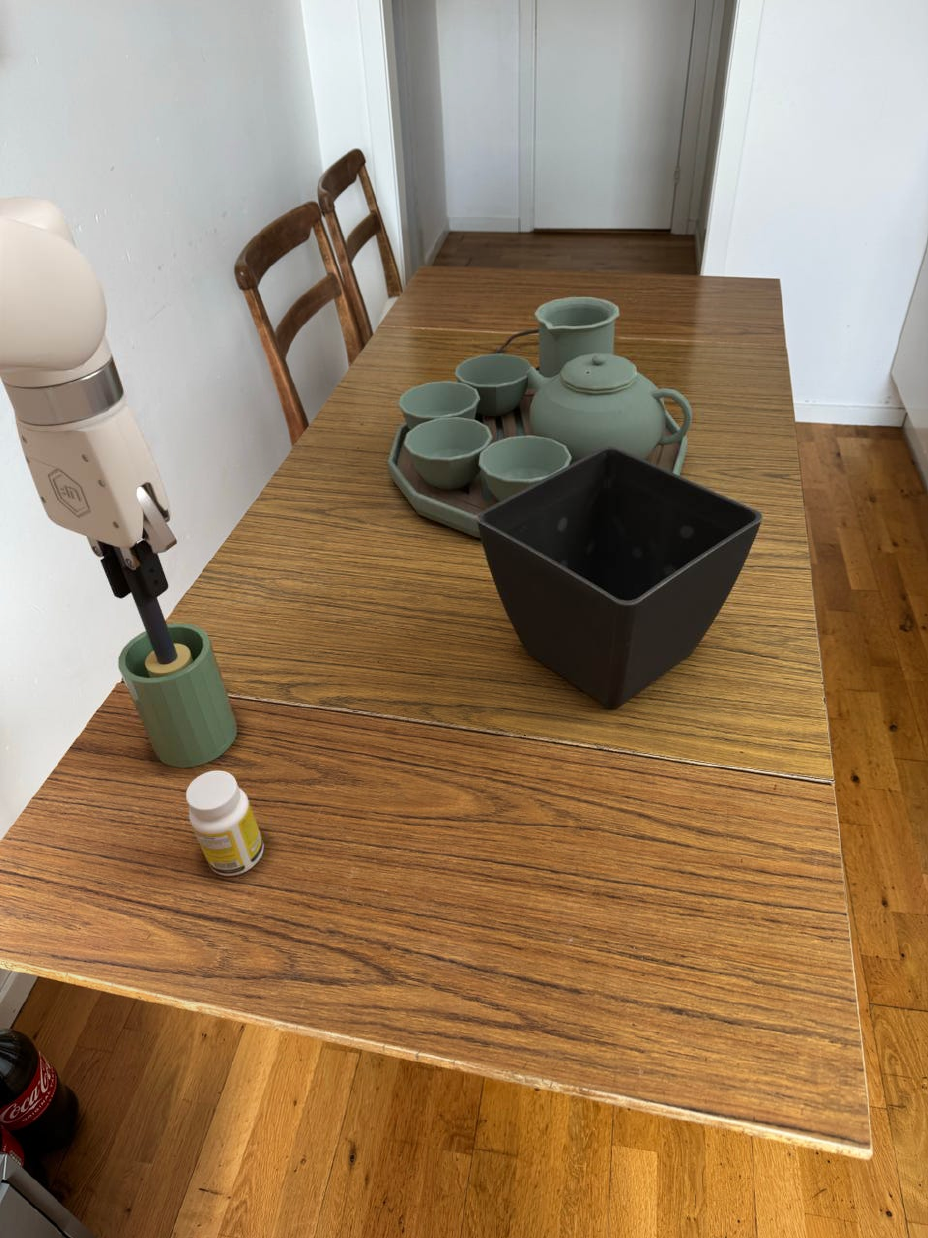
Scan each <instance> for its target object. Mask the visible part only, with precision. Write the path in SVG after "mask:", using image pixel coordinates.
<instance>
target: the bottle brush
mask: <svg viewBox="0 0 928 1238" xmlns="http://www.w3.org/2000/svg"><path fill="white" fill-rule="evenodd" d="M137 543H138V542H136V543H135V545H134V547H135V546H136V545H137ZM113 547H114V549H115V552H116V555H117V557H118V560H119V562H120V565H121V568H124V567H125V566H126V563H125V561H124V558H123V556H122V553H121V550H120V548H119V547H116V546H113ZM122 570H123V569H122ZM123 573H124V572H123ZM125 578H126V577H125ZM126 581H127V580H126ZM127 583H128V582H127ZM128 586H129V585H128ZM129 588H130V587H129ZM130 591H131V590H130ZM131 596H132V598H133V595H132V594H131ZM133 601H134V604H135V606H136V609H137V611H138V614H139V616H140V619H141V622H142V624H143V627H144V631H146V632H147V635H148V638H149V640H150V643H151V645H152V648H153V651H152V652H151V653H150V654H149V655H148V656H147V658H146V661H145V666H146V669H147V671H148V674H149V676H150V678H160V677H164V676H169V675H172V674H174V673H177V672H179V671H181V670H183V669H185V668H186V667H188V666H189V665H190V664H192V663H193V662H194V661H193V659H192V656H191V653H190V650H189V649H188V648H187V647H186V646H184V645H182V644H174V643H173V641H172V638H171V635H170V632H169V630H168V627H167V624H168V623H167V621H166V619H165V617H164V613H163V610H162V608H161V604H160V602H159V600H158V597H157V598H156V599H154V600H153V601H152V602H150V603H149V604H148V605H146V606H145V607H140V606H137V605H136V603H135V600H134V598H133Z"/></svg>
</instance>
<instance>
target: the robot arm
mask: <svg viewBox="0 0 928 1238" xmlns="http://www.w3.org/2000/svg"><path fill="white" fill-rule="evenodd" d="M107 312H108V311H107V302H106V297H105V293H104V289H103V287H102V285H101V282H100V279H99V278H98V275H97V273H96V271H95V270H94V268H93V266H92V265H91V264H90V261H88V260H87V258H86V257H85V256H84V255H83V254H82V252H81V251H80V250H78V248H77V244H76V242H75V238H74V235H73V233H72V229H71V228H70V225H69V222H68V219H67V217H65V215H64V213H63V212H62V211H61V209H59V207H58V206H57V205H56V204H54V203H53V202H50V201H49V200H47V199H44V198H39V197H30V196H14V197H5V198H0V380H1V382H2V385H3V387H4V390H5V391H6V393H7V396H8V399H9V402H10V403H11V406H12V409H13V410H14V419H15V425H16V429H17V433H18V438H19V442H20V446H21V448H22V452H23V454H24V458H25V462H26V464H27V467H28V470H29V473H30V475H31V479H32V481H33V483H34V487H35V489H36V491H37V495H38V496H39V500H40V502H41V505H42V507H43V509H44V512H45V513H46V516H47V517H48V519H49V520H50V521H51V522H52V523H54V524H55V525H57V526H59V527H61V528H63V529H66V530H68V531H71V532H73V533H76V534H79V535H82V536H84V537H86V539H87V541H88V544H89V546H90V549H91V551H92V553H93V554H94V555H95V556H96V557H97V558H101V559H99V560H100V564H101V567H102V569H103V571H104V574H105V577H106V578H107V581H108V583H109V586H110V588H111V592H112V594H113V596H114V597H116V598H117V599H120V600H121V599H124V598H126V597H127V596H129V595H130V594H131V596H132V595H133V596H132V598H134V599H133V601H134V600H135V601H134V604H135V603H136V604H135V606H136V605H137V606H140V607H145V606H146V605H148V604H149V603H150V602H152V601H153V600H154V599H156V598H157V599H158V598H159V597H160V596H162V594H164V593H165V592H167V590H168V589H169V582H168V580H167V579H168V578H167V577H166V573H165V571H164V568H163V565H162V562H161V559H160V557H159V554H161V553H166V552H167V551H168V550H170V549H172V548H173V547H174V546H176V545H177V544H178V540H177V538H176V536H175V535H174V532H173V531H172V529H171V528H170V527H169V524H168V522H170V521H171V518H172V517H171V515H172V513H171V506H170V502H169V498H168V495H167V491H166V488H165V486H164V483H163V480H162V477H161V474H160V472H159V469H158V467H157V464H156V461H155V459H154V457H153V454H152V452H151V450H150V446H149V444H148V442H147V440H146V438H145V435H144V433H143V432H142V430H141V427H140V425H139V423H138V421H137V419H136V417H135V415H134V414H133V411H132V409H131V408H130V406H129V404H127V403H126V402H127V395H126V392H125V390H124V386H123V383H122V380H121V378H120V375H119V371H118V368H117V365H116V362H115V359H114V355H113V353H112V350H111V347H110V345H109V341H108V339H107V335H106V329H107V321H108V314H107ZM136 542H137V545H136V546H135V547H134V545H135V543H136ZM113 546H116V547H119V548H120V550H121V553H122V556H123V558H124V561H125V563H126V566H125V567H124V568H121V565H120V562H119V560H118V557H117V555H116V552H115V549H114V547H113ZM122 569H123V570H122ZM123 572H124V573H123ZM125 577H126V578H125ZM126 580H127V581H126ZM127 582H128V583H127ZM128 585H129V586H128ZM129 587H130V588H129ZM130 590H131V591H130ZM137 606H136V607H137Z"/></svg>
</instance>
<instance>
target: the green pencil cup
mask: <svg viewBox="0 0 928 1238" xmlns="http://www.w3.org/2000/svg"><path fill="white" fill-rule="evenodd" d="M166 624H167V627H168V630H169V632H170V635H171V638H172V641H173V643H174V644H182V645H184V646H186V647H187V648H188V649H189V650H190V653H191V656H192V659H193V661H194V662H193V663H192V664H190V665H189V666H188V667H186V668H185V669H183V670H181V671H179V672H177V673H174V674H172V675H169V676H164V677H160V678H150V676H149V674H148V671H147V669H146V666H145V661H146V658H147V656H148V655H149V654H150V653H151V652H152V651H153V648H152V645H151V643H150V640H149V638H148V635H147V632H146V630H144V631H142V632H141V633H139V634H137V635H136V636H135V637H133V638H132V639H130V640H129V642H127V643H126V645H124V647H123V648H122V649H121V652H120V654H119V656H118V657H117V658H118V660H117V661H118V662H117V667H118V670H119V673H120V675H121V677H122V680H123V682H124V685H125V686H126V689H127V692H128V693H129V694H128V695H129V696H130V698H131V701H132V703H133V705H134V708H135V711H136V712H137V715H138V717H139V719H140V722H141V724H142V727H143V729H144V732H145V734H146V736H147V738H148V741H149V743H150V745H151V748H152V749H153V751H154V752H153V753H154V754H155V756H156V757H157V759H158V760H159V761H160V762H162V763H164V764H165V765H167V766H169V767H173V768H180V769H182V768H183V769H187V768H188V769H189V768H195V767H199V766H202V765H205V764H208V763H210V762H212V761H214V760H216V759H218V758H219V757H221V756H222V755H223V754H224V753H225V752H227V751H228V749H229V748H230V747H231V746H232V745H233V743H234V741H235V739H236V738H237V733H238V723H237V720H236V715H235V712H234V709H233V707H232V703H231V701H230V697H229V694H228V691H227V688H226V684H225V682H224V679H223V675H222V673H221V670H220V666H219V663H218V660H217V656H216V655H215V652H214V649H213V646H212V645H213V644H212V641H211V639H210V636H209V634H208V633H207V632H206V631H205V630H204V629H202V628H201V627H199V626H197V625H195V624H191V623H186V622H173V623H166Z"/></svg>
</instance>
